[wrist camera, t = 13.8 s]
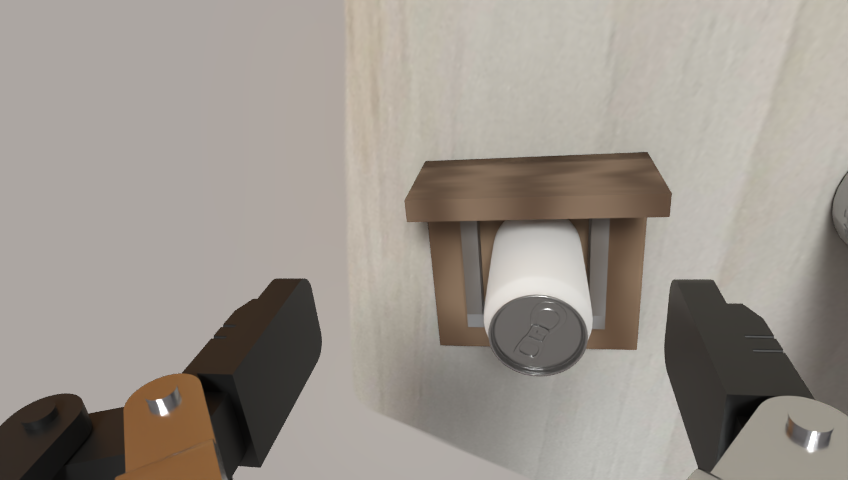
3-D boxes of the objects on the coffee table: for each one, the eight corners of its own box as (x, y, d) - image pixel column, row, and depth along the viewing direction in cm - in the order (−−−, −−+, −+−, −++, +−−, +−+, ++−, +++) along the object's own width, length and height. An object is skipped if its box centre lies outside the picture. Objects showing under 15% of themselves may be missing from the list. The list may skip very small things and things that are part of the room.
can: (596, 225, 42) (617, 316, 31) (556, 293, 45) (563, 397, 34) (514, 192, 42) (508, 271, 31) (480, 262, 45) (463, 356, 34)
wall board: (647, 152, 40) (671, 193, 33) (633, 338, 47) (651, 405, 40) (425, 161, 43) (404, 200, 36) (443, 334, 50) (428, 396, 43)
